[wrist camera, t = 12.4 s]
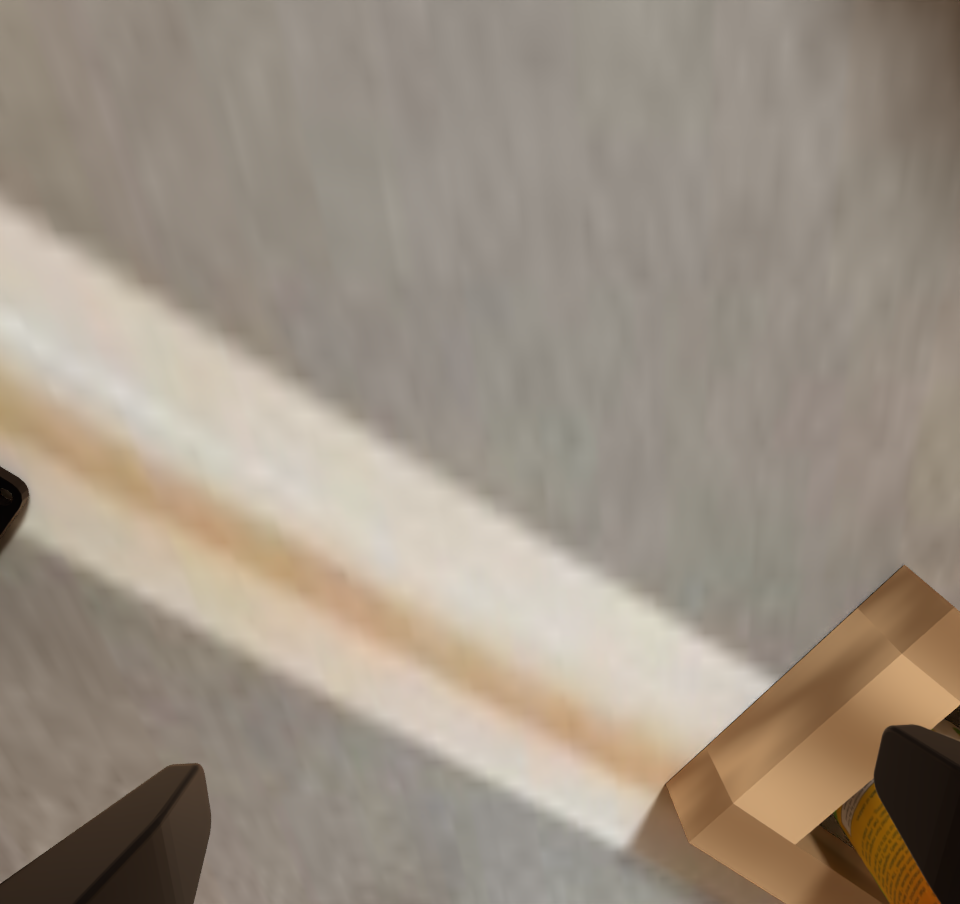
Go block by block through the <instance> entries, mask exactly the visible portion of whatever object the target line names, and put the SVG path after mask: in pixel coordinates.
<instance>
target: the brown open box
mask: <svg viewBox="0 0 960 904" xmlns="http://www.w3.org/2000/svg"><path fill="white" fill-rule="evenodd" d="M959 705H960V611H958V610H957V609H956V608H955V607H954V606H953V605H951V604H950V603H949V602H948V601H947V600H946V599H944V598H943V597H942V596H941V595H940V594H938V593H937V592H936V591H935V590H934V589H933V588H931V587H930V586H929V585H928V584H927V583H925V582H924V581H923V580H922V579H921V578H920V577H918V576H917V575H916V574H915V573H914V572H912V571H911V570H910V569H909V568H908V567H907V566H905V565H904V566H903V567H902V568H900V569H899V570H898V571H897V572H896V573H895V574H894V575H893V576H892V577H891V578H890V579H888V580H887V581H886V582H885V583H884V584H883V585H882V586H881V587H880V588H879V589H878V590H877V591H875V592H874V593H873V594H872V595H871V596H870V597H869V598H868V599H867V600H866V601H865V602H863V603H862V604H861V605H860V606H859V607H858V608H857V609H856V610H855V611H854V612H853V613H852V614H850V615H849V616H848V617H847V618H846V619H845V620H844V621H843V622H842V623H841V624H840V625H838V626H837V627H836V628H835V629H834V630H833V631H832V632H831V633H830V634H829V635H828V636H826V637H825V638H824V639H823V640H822V641H821V642H820V643H819V644H818V645H817V646H816V647H815V648H813V649H812V650H811V651H810V652H809V653H808V654H807V655H806V656H805V657H804V658H803V659H801V660H800V661H799V662H798V663H797V664H796V665H795V666H794V667H793V668H792V669H791V670H790V671H788V672H787V673H786V674H785V675H784V676H783V677H782V678H781V679H780V680H779V681H778V682H776V683H775V684H774V685H773V686H772V687H771V688H770V689H769V690H768V691H767V692H766V693H765V694H763V695H762V696H761V697H760V698H759V699H758V700H757V701H756V702H755V703H754V704H753V705H751V706H750V707H749V708H748V709H747V710H746V711H745V712H744V713H743V714H742V715H741V716H739V717H738V718H737V719H736V720H735V721H734V722H733V723H732V724H731V725H730V726H729V727H728V728H726V729H725V730H724V731H723V732H722V733H721V734H720V735H719V736H718V737H717V738H716V739H714V740H713V741H712V742H711V743H710V744H709V745H708V746H707V747H706V748H705V749H704V750H703V751H701V752H700V753H699V754H698V755H697V756H696V757H695V758H694V759H693V760H692V761H691V762H689V763H688V764H687V765H686V766H685V767H684V768H683V769H682V770H681V771H680V772H679V773H678V774H676V775H675V776H674V777H673V778H672V779H671V780H670V781H669V782H668V783H667V784H666V786H667V789H668V791H669V794H670V796H671V799H672V801H673V804H674V806H675V809H676V811H677V814H678V817H679V819H680V822H681V824H682V827H683V829H684V832H685V834H686V837H687V839H688V842H689V843H690V844H692V845H693V846H695V847H696V848H698V849H700V850H701V851H703V852H704V853H706V854H708V855H709V856H711V857H712V858H714V859H715V860H717V861H719V862H720V863H722V864H723V865H725V866H727V867H728V868H730V869H731V870H733V871H734V872H736V873H738V874H739V875H741V876H742V877H744V878H746V879H747V880H749V881H750V882H752V883H753V884H755V885H757V886H758V887H760V888H761V889H763V890H765V891H766V892H768V893H769V894H771V895H772V896H774V897H776V898H777V899H779V900H780V901H782V902H784V903H785V904H890V903H889V902H888V900H887V898H886V897H885V895H884V894H883V892H882V891H881V889H880V887H879V886H878V884H877V882H876V881H875V879H874V878H873V876H872V875H871V873H870V872H869V870H868V869H867V867H866V865H865V864H864V862H863V861H862V859H861V858H860V856H859V854H858V853H857V851H856V850H854V849H853V848H851V847H850V846H849V845H847V844H846V843H844V842H843V841H841V840H840V839H838V838H837V837H835V836H834V835H833V834H831V833H830V832H828V831H827V830H825V829H824V828H822V827H821V826H819V824H820V823H821V822H822V821H824V820H825V819H826V818H827V817H828V816H830V815H831V814H832V813H833V812H834V811H835V810H837V809H838V808H839V807H840V806H841V805H843V804H844V803H845V802H846V801H847V800H848V799H850V798H851V797H852V796H853V795H854V794H855V793H857V792H858V791H859V790H860V789H861V788H863V787H864V786H865V785H866V784H867V783H868V782H870V781H871V780H872V779H873V778H874V769H875V764H876V760H877V755H878V751H879V746H880V742H881V738H882V734H883V731H884V730H885V729H886V728H887V727H888V726H891V725H908V724H915V725H919V726H922V727H925V728H927V729H930V730H931V729H932V728H933V727H935V726H936V725H937V724H938V723H939V722H940V721H942V720H943V719H944V718H945V717H946V716H948V715H949V714H950V713H951V712H952V711H953V710H955V709H956V708H957V707H958V706H959Z"/></svg>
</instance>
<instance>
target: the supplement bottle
mask: <svg viewBox="0 0 960 904" xmlns="http://www.w3.org/2000/svg"><path fill="white" fill-rule="evenodd" d="M931 730H932V731H935V732H937V733H940V734H943V735H945V736H948V737H950V738H953V739H955V740H958V741H960V729H959V728H958V727H957V726H955V725H954V724H952V723H951V722H949V721H947V720H945V719H943V720H942V721H940V722H939V723H938V724H937V725H936V726H935V727H933V728H932V729H931ZM833 815H834V817H835V818H836V820H837V822H838V823H839V825H840V826H841V828H842V830H843V831H844V833H845V834H846V836H847V837H848V839H849V841H850V842H851V844H852V845H853V847H854V848H855V850H856V851H857V853H858V854H859V856H860V858H861V859H862V861H863V862H864V864H865V865H866V867H867V869H868V870H869V872H870V873H871V875H872V876H873V878H874V879H875V881H876V882H877V884H878V886H879V887H880V889H881V891H882V892H883V894H884V895H885V897H886V898H887V900H888V902H889V903H890V904H941V903H940V902H939V900H938V899H937V897H936V896H935V894H934V893H933V891H932V889H931V888H930V886H929V884H928V883H927V881H926V879H925V878H924V876H923V874H922V873H921V871H920V869H919V867H918V866H917V864H916V862H915V860H914V859H913V857H912V855H911V853H910V851H909V850H908V848H907V846H906V844H905V843H904V841H903V839H902V837H901V835H900V834H899V832H898V830H897V828H896V827H895V825H894V823H893V821H892V820H891V818H890V816H889V814H888V812H887V811H886V809H885V807H884V805H883V804H882V802H881V800H880V798H879V796H878V794H877V792H876V789H875V785H874V778H873V779H872V780H871V781H870V782H868V783H867V784H866V785H865V786H864V787H863V788H861V789H860V790H859V791H858V792H857V793H855V794H854V795H853V796H852V797H851V798H850V799H848V800H847V801H846V802H845V803H844V804H843V805H841V806H840V807H839V808H838V809H837V810H835V811H834V812H833Z"/></svg>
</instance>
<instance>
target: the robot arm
mask: <svg viewBox="0 0 960 904" xmlns="http://www.w3.org/2000/svg"><path fill="white" fill-rule="evenodd" d="M0 488H3V489H6V490H8V491H9V492H10V493H11V494H12V497H13V499H11V500H10V499H7V498H5V497H4V496H3V495H2V494H1V491H0V539H1V537H2V536H3V534H4V533H5V531H6V530H7V529H8V527H9V526H10V524H11V523H12V521H13V520H14V519H15V517H16V516H17V514H18V513H19V512H20V510H21V509H22V507H23V506H24V504H25V503H26V502H27V499H28V497H29V491H28V488H27V486H26V484H25V483H24V482H23V481H22V480H21V479H20V478H18V477H17V476H15V475H13V474H12V473H10V472H9V471H7V470H5V469H4V468H2V467H0ZM874 785H875V789H876V792H877V794H878V796H879V798H880V800H881V802H882V804H883V805H884V807H885V809H886V811H887V812H888V814H889V816H890V818H891V820H892V821H893V823H894V825H895V827H896V828H897V830H898V832H899V834H900V835H901V837H902V839H903V841H904V843H905V844H906V846H907V848H908V850H909V851H910V853H911V855H912V857H913V859H914V860H915V862H916V864H917V866H918V867H919V869H920V871H921V873H922V874H923V876H924V878H925V879H926V881H927V883H928V884H929V886H930V888H931V889H932V891H933V893H934V894H935V896H936V897H937V899H938V900H939V902H940V903H941V904H960V741H958V740H955V739H953V738H950V737H948V736H945V735H943V734H940V733H937V732H935V731H932V730H930V729H927V728H925V727H922V726H919V725H915V724H908V725H891V726H888V727H887V728H886V729H885V730H884V731H883V734H882V738H881V742H880V746H879V751H878V755H877V760H876V764H875V769H874ZM210 829H211V810H210V804H209V798H208V791H207V785H206V779H205V773H204V770H203V768H202V766H201V765H200V764H198V763H190V764H173V765H169V766H167V767H166V768H164V769H163V770H161V771H160V772H158V773H157V774H156V775H154V776H153V777H151V778H150V779H148V780H147V781H146V782H144V783H143V784H141V785H140V786H138V787H137V788H136V789H134V790H133V791H131V792H130V793H129V794H127V795H126V796H124V797H123V798H121V799H120V800H119V801H117V802H116V803H114V804H113V805H111V806H110V807H109V808H107V809H106V810H104V811H103V812H102V813H100V814H99V815H97V816H96V817H94V818H93V819H92V820H90V821H89V822H87V823H86V824H84V825H83V826H82V827H80V828H79V829H77V830H76V831H75V832H73V833H72V834H70V835H69V836H67V837H66V838H65V839H63V840H62V841H60V842H59V843H58V844H56V845H55V846H53V847H52V848H50V849H49V850H48V851H46V852H45V853H43V854H42V855H40V856H39V857H38V858H36V859H35V860H33V861H32V862H31V863H29V864H28V865H26V866H25V867H23V868H22V869H21V870H19V871H18V872H16V873H15V874H13V875H12V876H11V877H9V878H8V879H6V880H5V881H4V882H2V883H1V884H0V904H193V903H194V899H195V895H196V891H197V887H198V882H199V878H200V874H201V870H202V865H203V861H204V857H205V853H206V849H207V844H208V840H209V836H210Z"/></svg>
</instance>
